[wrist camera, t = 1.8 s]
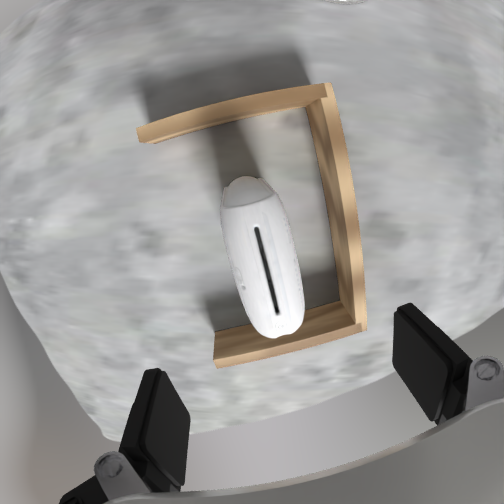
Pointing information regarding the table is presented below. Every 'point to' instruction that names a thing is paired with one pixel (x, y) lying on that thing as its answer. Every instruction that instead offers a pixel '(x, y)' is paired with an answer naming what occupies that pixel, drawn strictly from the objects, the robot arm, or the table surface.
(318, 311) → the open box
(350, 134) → the table surface
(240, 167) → the table surface
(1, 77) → the table surface
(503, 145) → the table surface
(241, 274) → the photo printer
